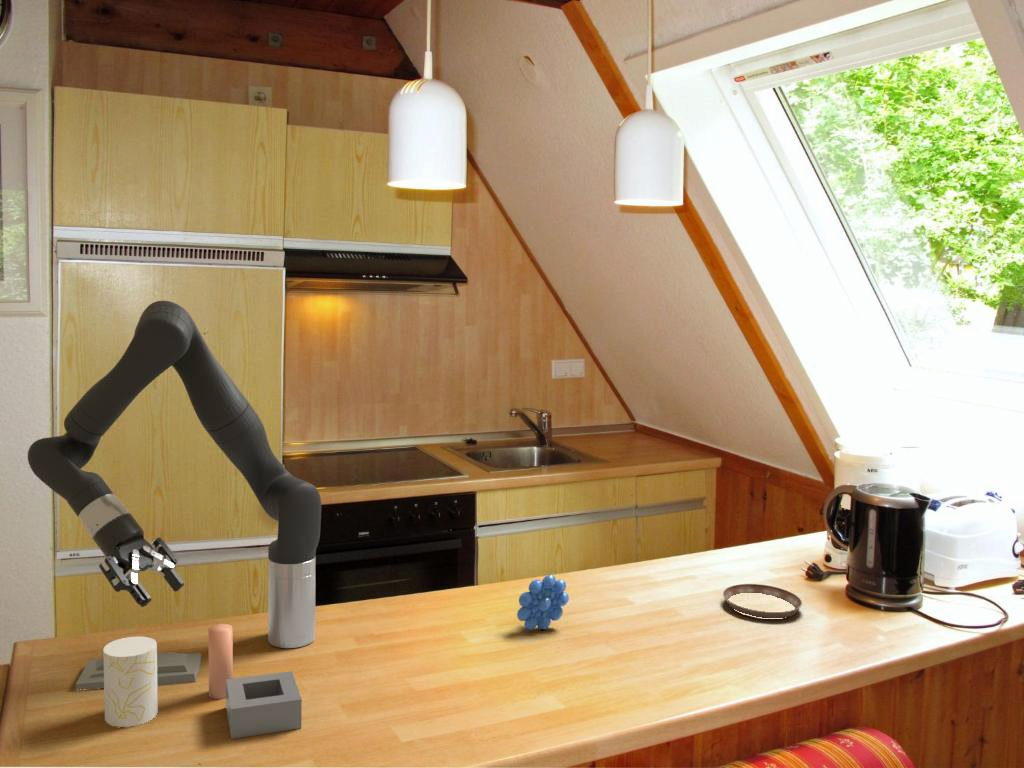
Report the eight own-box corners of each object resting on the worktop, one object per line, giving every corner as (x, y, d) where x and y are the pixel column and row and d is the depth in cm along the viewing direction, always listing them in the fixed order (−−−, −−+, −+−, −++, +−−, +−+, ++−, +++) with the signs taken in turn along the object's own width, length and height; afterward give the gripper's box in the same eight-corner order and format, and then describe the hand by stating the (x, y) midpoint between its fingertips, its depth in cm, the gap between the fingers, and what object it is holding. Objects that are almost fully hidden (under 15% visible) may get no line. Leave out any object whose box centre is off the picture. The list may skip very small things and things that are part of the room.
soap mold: (88, 669, 168) (88, 651, 168) (201, 662, 173) (201, 644, 172) (75, 694, 158) (75, 675, 158) (195, 686, 163) (195, 668, 163)
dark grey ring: (790, 630, 198) (791, 617, 197) (712, 612, 207) (712, 599, 206) (809, 606, 213) (810, 593, 213) (735, 590, 222) (735, 578, 221)
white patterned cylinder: (104, 731, 145) (102, 659, 144) (105, 708, 153) (103, 640, 151) (158, 722, 149) (157, 652, 147) (156, 700, 156) (155, 633, 154)
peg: (208, 690, 160) (207, 625, 159) (231, 687, 162) (231, 622, 160) (209, 700, 157) (209, 634, 155) (233, 697, 158) (233, 631, 157)
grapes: (559, 619, 199) (561, 566, 197) (571, 631, 192) (574, 576, 191) (509, 624, 195) (511, 571, 193) (520, 637, 188) (522, 581, 187)
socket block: (226, 707, 154) (226, 679, 154) (291, 698, 158) (292, 671, 158) (231, 738, 144) (231, 709, 144) (301, 728, 148) (301, 699, 148)
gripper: (93, 522, 155) (148, 596, 153) (150, 503, 169) (202, 571, 166) (68, 548, 157) (123, 621, 155) (127, 528, 171) (178, 595, 169)
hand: (164, 595), depth 161 cm, fingers open, 8 cm apart
